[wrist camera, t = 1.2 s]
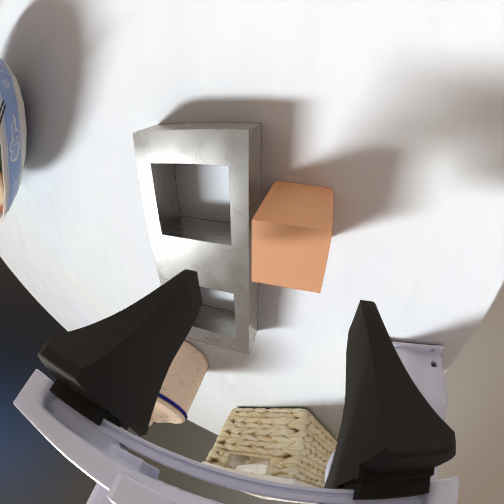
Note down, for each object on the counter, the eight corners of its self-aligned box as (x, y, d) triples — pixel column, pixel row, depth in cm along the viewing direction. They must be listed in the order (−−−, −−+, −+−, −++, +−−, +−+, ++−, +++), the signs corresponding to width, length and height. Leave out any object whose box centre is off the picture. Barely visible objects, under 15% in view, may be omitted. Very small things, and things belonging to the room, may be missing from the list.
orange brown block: (332, 188, 18) (332, 231, 13) (325, 238, 20) (320, 293, 15) (275, 180, 18) (252, 219, 14) (272, 230, 21) (251, 281, 16)
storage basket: (346, 445, 44) (334, 506, 32) (277, 445, 51) (261, 499, 39) (311, 401, 34) (290, 494, 23) (221, 401, 42) (192, 474, 30)
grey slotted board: (157, 124, 18) (132, 133, 16) (261, 123, 16) (248, 129, 14) (187, 314, 29) (175, 334, 27) (257, 331, 28) (249, 353, 25)
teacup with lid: (179, 327, 31) (133, 406, 22) (223, 370, 35) (192, 444, 25) (131, 337, 37) (92, 396, 28) (170, 373, 41) (139, 430, 31)
